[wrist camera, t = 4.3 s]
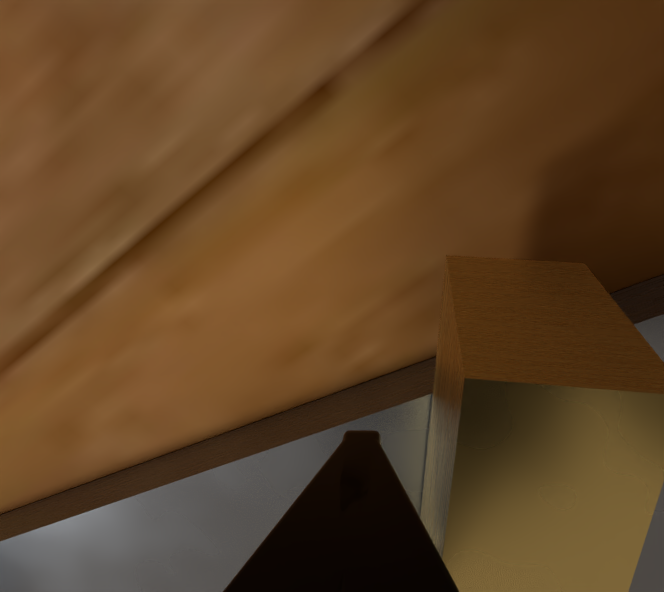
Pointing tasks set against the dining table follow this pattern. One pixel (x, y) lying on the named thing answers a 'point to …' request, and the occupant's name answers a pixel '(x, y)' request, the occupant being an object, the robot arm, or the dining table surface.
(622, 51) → the dining table surface
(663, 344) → the steel plate
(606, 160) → the dining table surface
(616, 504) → the wooden ring wrench
